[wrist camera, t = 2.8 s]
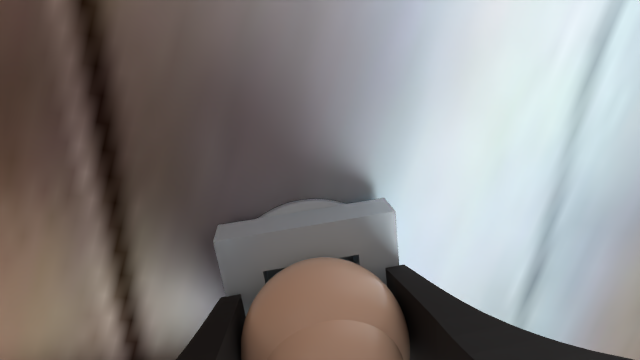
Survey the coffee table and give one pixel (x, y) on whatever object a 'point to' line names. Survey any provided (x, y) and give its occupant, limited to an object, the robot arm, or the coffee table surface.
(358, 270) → the brown egg
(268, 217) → the egg cup
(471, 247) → the coffee table surface
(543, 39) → the coffee table surface
